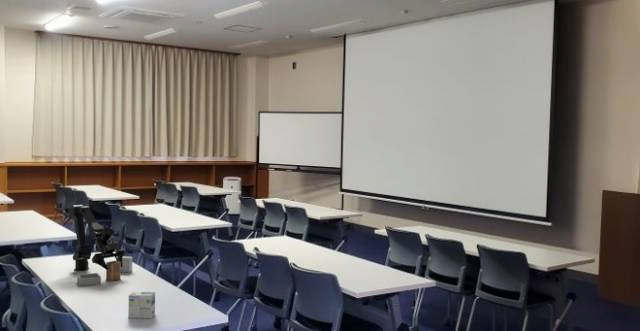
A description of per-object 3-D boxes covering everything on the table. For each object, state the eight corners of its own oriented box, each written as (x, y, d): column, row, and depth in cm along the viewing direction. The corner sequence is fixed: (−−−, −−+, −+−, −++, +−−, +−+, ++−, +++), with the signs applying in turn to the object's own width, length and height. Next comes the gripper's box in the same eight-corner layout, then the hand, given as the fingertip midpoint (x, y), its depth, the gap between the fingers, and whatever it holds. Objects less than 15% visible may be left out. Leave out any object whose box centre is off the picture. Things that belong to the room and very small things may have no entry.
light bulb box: (155, 314, 264) (155, 291, 263) (151, 318, 257) (152, 295, 256) (132, 313, 263) (132, 290, 263) (127, 318, 257) (128, 294, 256)
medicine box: (132, 270, 344) (132, 256, 343) (129, 272, 339) (129, 258, 339) (120, 270, 345) (120, 255, 344) (116, 271, 340) (116, 257, 340)
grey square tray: (77, 281, 315) (77, 274, 315) (97, 279, 320) (97, 272, 320) (80, 286, 306) (80, 279, 306) (100, 284, 311) (100, 277, 311)
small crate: (106, 279, 321) (106, 262, 321) (114, 277, 326) (115, 260, 325) (111, 281, 318) (112, 263, 317) (120, 279, 322) (120, 262, 322)
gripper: (94, 239, 316) (105, 262, 310) (124, 235, 331) (135, 257, 324) (86, 251, 321) (97, 274, 315) (116, 247, 336) (126, 268, 330)
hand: (114, 268), depth 321 cm, fingers open, 9 cm apart
